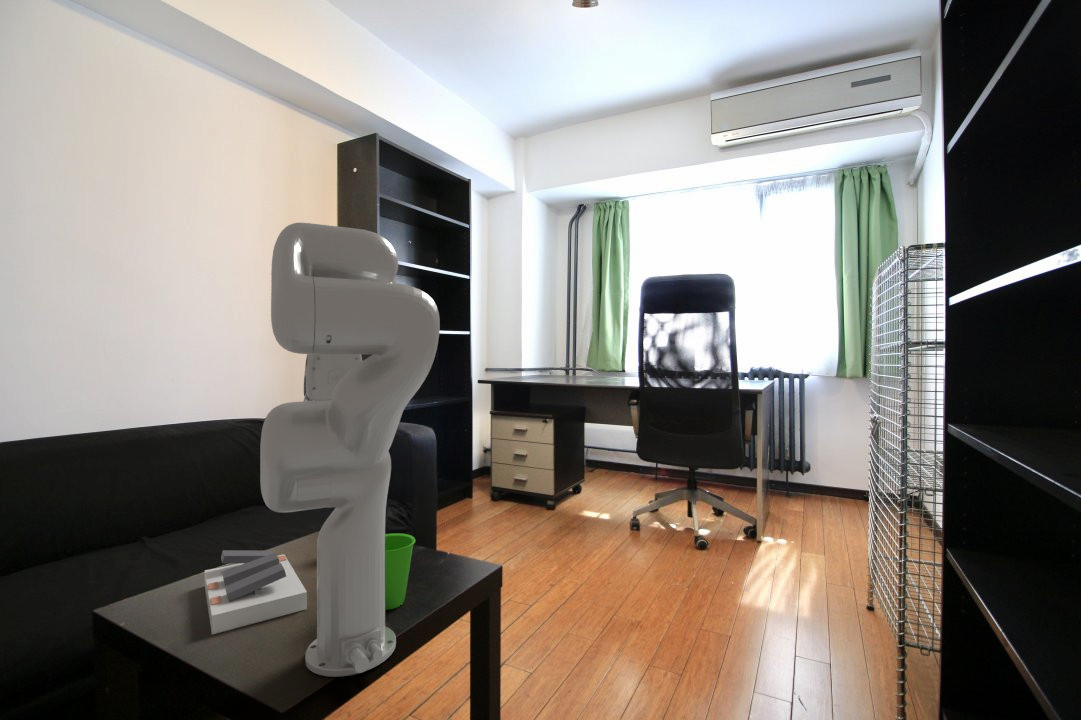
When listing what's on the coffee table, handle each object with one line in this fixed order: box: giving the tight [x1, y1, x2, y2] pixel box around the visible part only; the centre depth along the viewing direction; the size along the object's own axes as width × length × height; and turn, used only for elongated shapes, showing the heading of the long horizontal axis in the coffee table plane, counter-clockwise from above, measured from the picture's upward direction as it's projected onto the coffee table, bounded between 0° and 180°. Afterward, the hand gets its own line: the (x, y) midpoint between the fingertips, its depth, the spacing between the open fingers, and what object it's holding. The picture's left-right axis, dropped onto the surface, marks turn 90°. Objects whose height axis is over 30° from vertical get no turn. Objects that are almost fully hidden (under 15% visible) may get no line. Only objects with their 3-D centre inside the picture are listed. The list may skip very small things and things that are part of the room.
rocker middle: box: [222, 552, 279, 586], centre depth 95 cm, size 4×9×1 cm, turn 126°
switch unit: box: [204, 553, 308, 635], centre depth 94 cm, size 22×14×4 cm, turn 36°
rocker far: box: [220, 549, 275, 564], centre depth 101 cm, size 4×9×1 cm, turn 126°
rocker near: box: [225, 563, 286, 602], centre depth 89 cm, size 4×9×1 cm, turn 126°
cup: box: [385, 532, 416, 611], centre depth 91 cm, size 9×9×11 cm
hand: (334, 437), depth 95 cm, fingers closed
